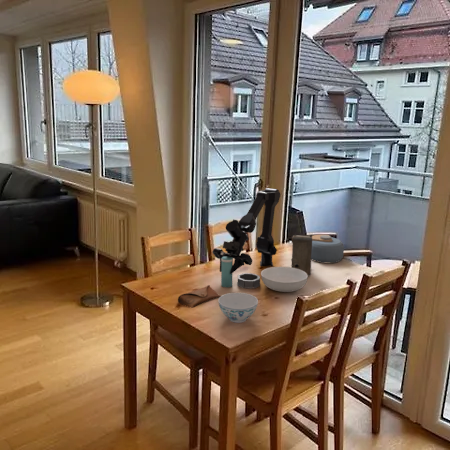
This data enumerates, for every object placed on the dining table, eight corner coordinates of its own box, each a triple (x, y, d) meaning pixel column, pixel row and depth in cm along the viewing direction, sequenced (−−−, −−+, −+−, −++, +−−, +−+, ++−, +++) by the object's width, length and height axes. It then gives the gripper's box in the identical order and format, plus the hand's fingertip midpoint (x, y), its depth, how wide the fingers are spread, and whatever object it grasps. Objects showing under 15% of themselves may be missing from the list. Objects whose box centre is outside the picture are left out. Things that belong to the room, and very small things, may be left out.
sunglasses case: (191, 308, 181) (185, 292, 182) (181, 312, 186) (175, 296, 187) (222, 296, 194) (216, 281, 195) (212, 299, 199) (207, 285, 200)
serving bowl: (313, 285, 207) (314, 271, 206) (296, 301, 190) (297, 285, 188) (272, 276, 218) (272, 263, 216) (252, 290, 200) (252, 276, 198)
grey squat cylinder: (323, 250, 260) (324, 229, 257) (350, 259, 244) (352, 238, 241) (298, 255, 250) (299, 234, 247) (325, 265, 234) (327, 243, 231)
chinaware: (233, 331, 163) (234, 312, 161) (210, 316, 174) (210, 298, 172) (265, 321, 171) (266, 302, 169) (241, 307, 183) (241, 289, 181)
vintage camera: (308, 266, 233) (310, 229, 229) (311, 276, 218) (312, 236, 214) (289, 266, 234) (290, 228, 230) (290, 275, 219) (292, 235, 215)
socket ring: (237, 279, 213) (237, 272, 212) (259, 280, 212) (259, 273, 212) (237, 288, 203) (237, 280, 202) (260, 288, 202) (260, 281, 202)
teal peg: (221, 283, 208) (221, 256, 205) (232, 283, 208) (233, 256, 205) (220, 287, 203) (221, 259, 200) (232, 287, 203) (232, 260, 200)
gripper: (214, 231, 208) (200, 260, 202) (250, 237, 199) (237, 268, 192) (223, 243, 216) (210, 271, 210) (257, 249, 207) (245, 279, 201)
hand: (225, 272), depth 203 cm, fingers closed on teal peg, 5 cm apart
